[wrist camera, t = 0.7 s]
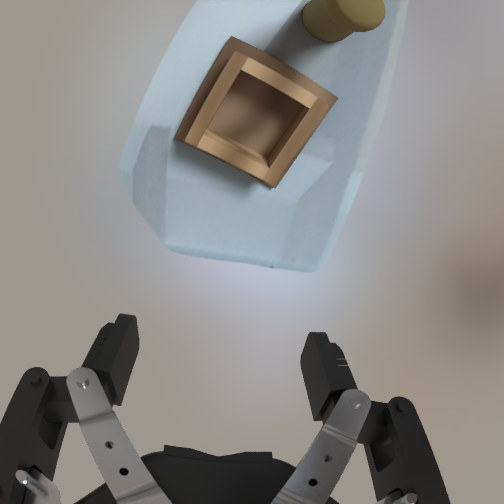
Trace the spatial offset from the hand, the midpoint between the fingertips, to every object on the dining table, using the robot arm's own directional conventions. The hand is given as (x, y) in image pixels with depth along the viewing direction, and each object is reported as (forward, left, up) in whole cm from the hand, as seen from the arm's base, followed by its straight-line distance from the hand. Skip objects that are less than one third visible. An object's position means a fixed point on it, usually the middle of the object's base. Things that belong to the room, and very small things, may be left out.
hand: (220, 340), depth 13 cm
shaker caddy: (-4, +4, -26) cm, 27 cm away
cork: (-13, +16, -27) cm, 34 cm away
